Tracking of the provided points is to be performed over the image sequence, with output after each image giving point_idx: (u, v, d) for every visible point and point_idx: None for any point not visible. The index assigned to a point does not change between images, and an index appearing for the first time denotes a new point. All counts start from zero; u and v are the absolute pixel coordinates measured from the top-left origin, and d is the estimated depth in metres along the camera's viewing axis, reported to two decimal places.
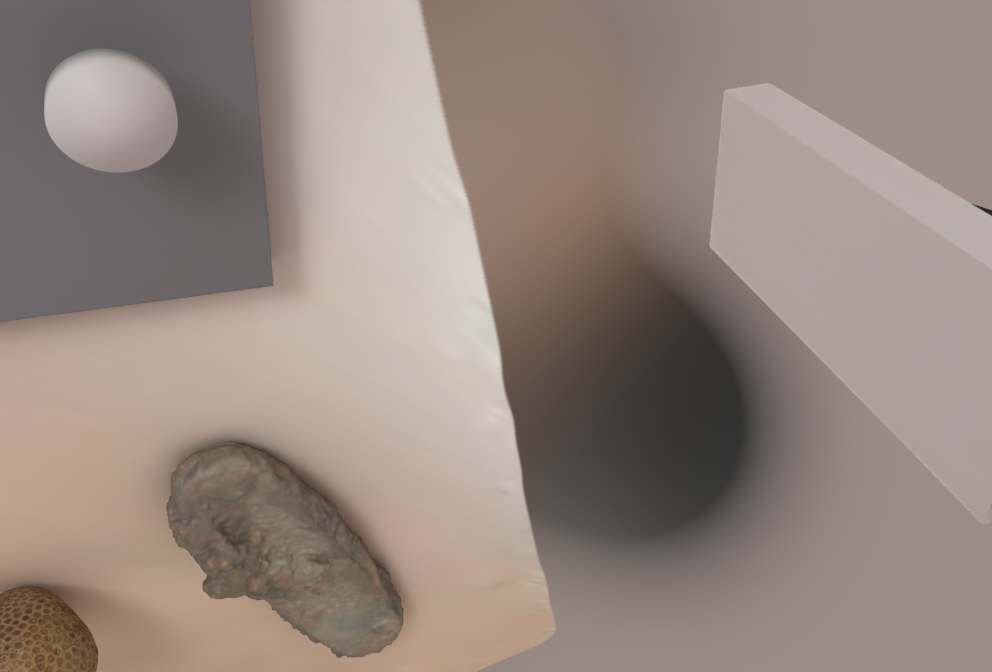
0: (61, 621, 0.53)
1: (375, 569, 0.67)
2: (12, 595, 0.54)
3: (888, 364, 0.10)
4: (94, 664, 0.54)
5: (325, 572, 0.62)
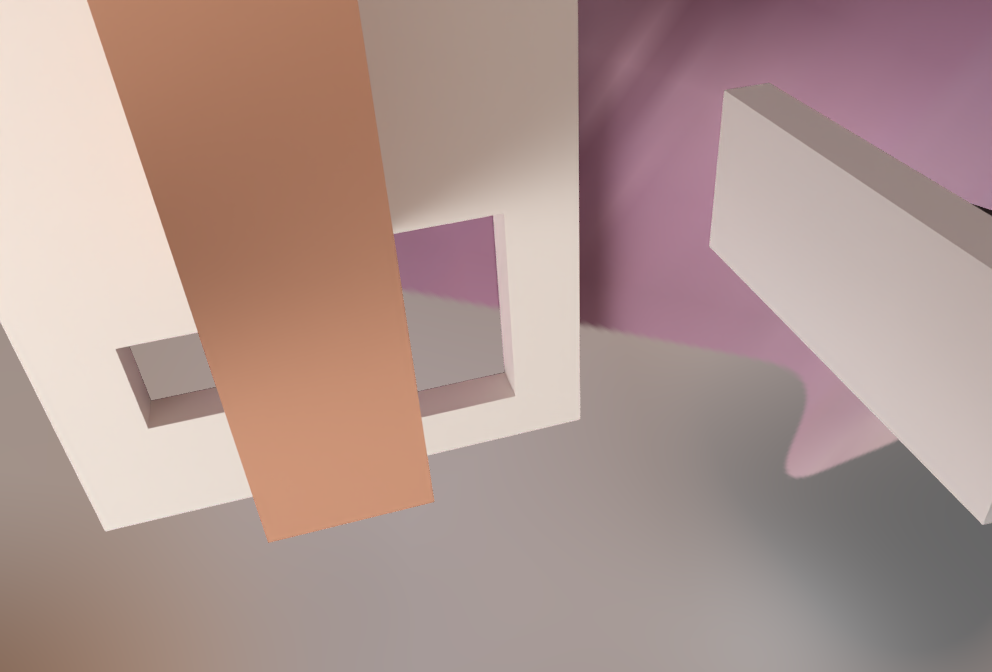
0: None
1: None
2: None
3: (889, 365, 0.10)
4: None
5: None
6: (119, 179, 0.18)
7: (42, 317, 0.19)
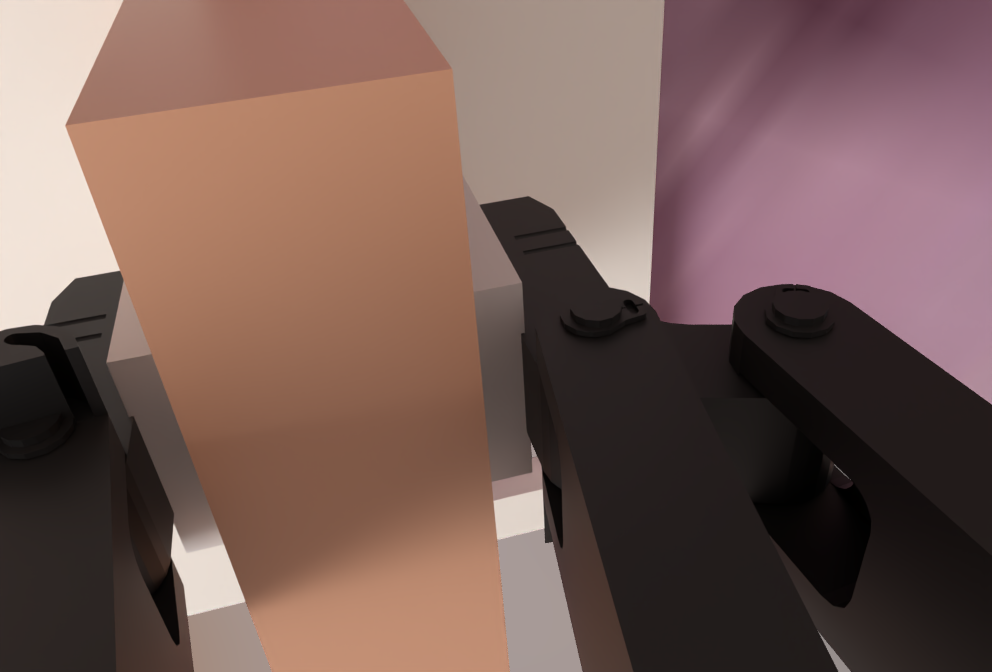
0: None
1: None
2: None
3: None
4: None
5: None
6: None
7: None
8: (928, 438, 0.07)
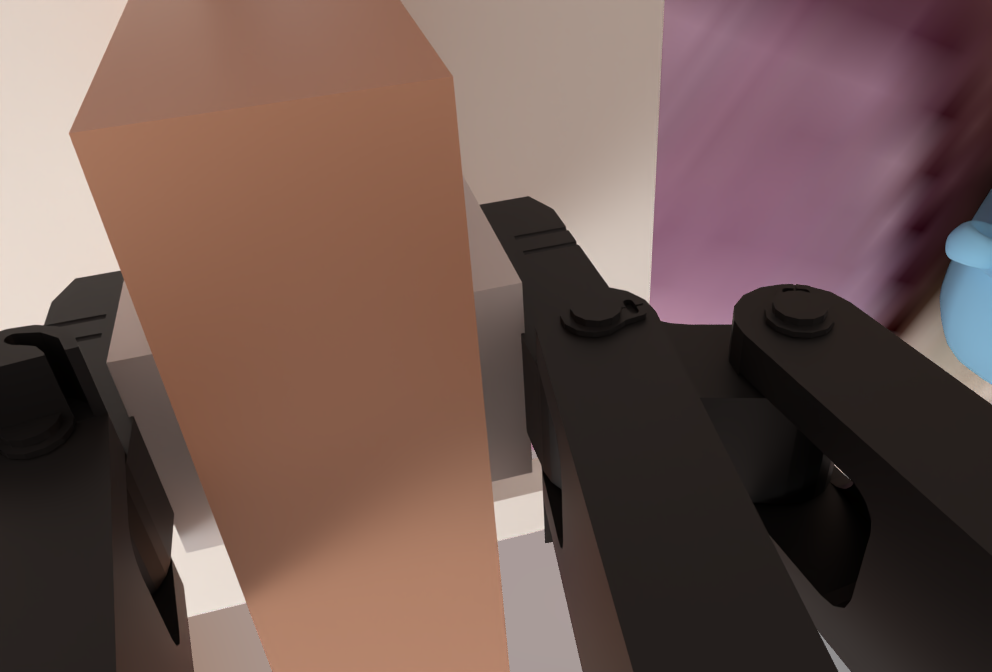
0: None
1: None
2: None
3: None
4: None
5: None
6: None
7: None
8: (928, 438, 0.07)
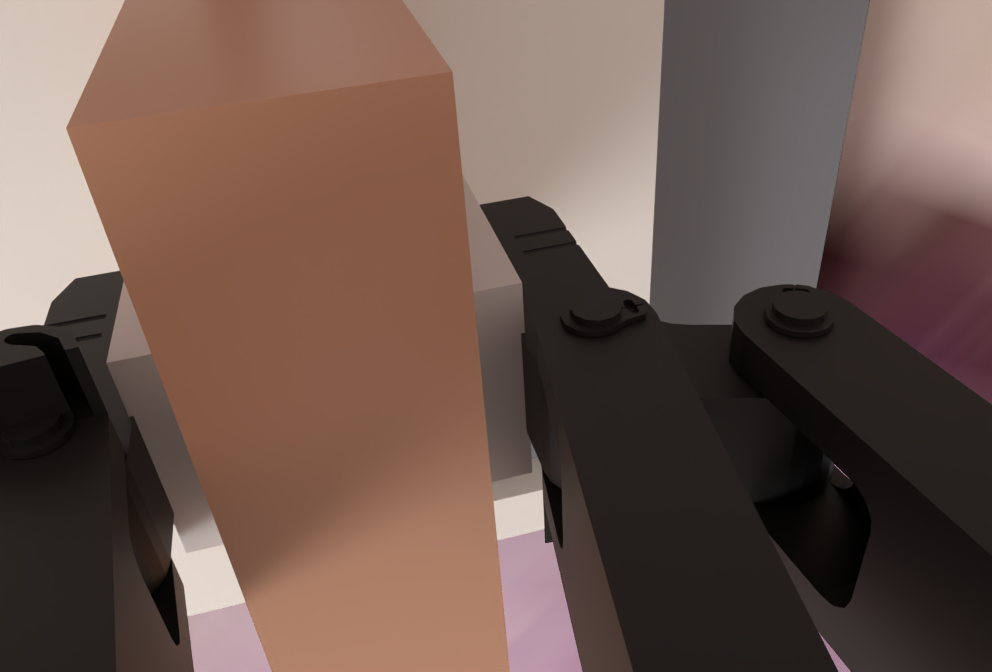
0: None
1: None
2: None
3: None
4: None
5: None
6: None
7: None
8: (928, 438, 0.07)
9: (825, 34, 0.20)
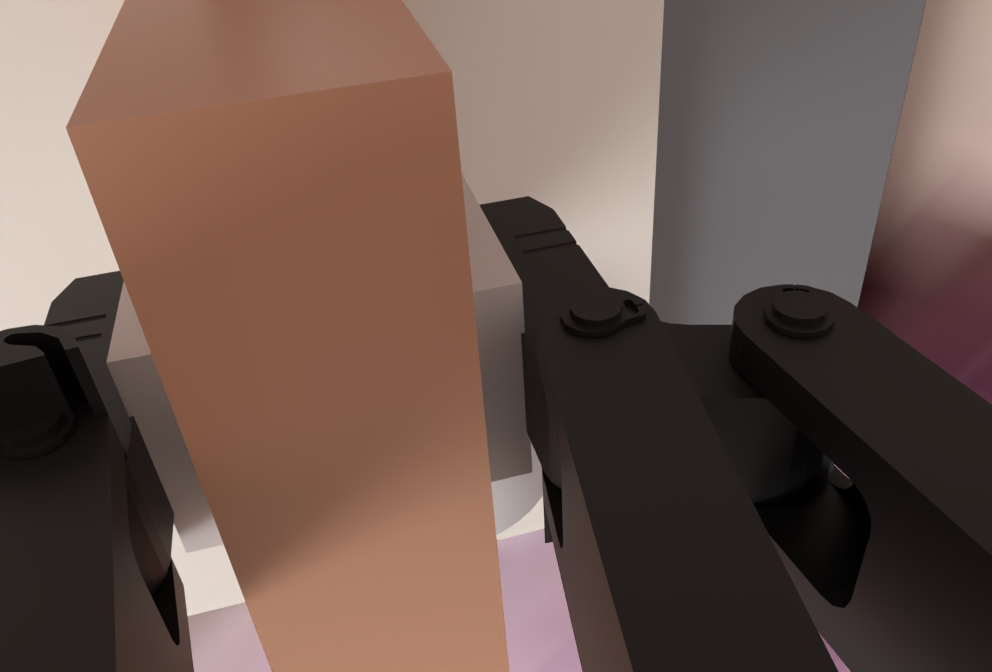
0: None
1: None
2: None
3: None
4: None
5: None
6: None
7: None
8: (928, 438, 0.07)
9: (873, 55, 0.19)
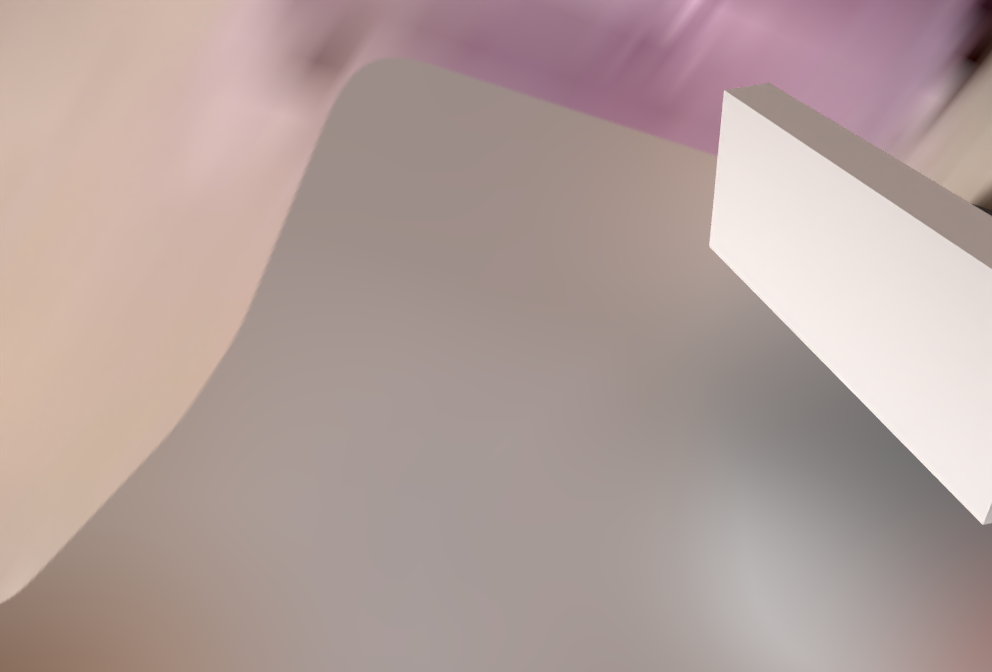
0: None
1: None
2: None
3: (889, 365, 0.10)
4: None
5: None
6: None
7: None
8: None
9: None
